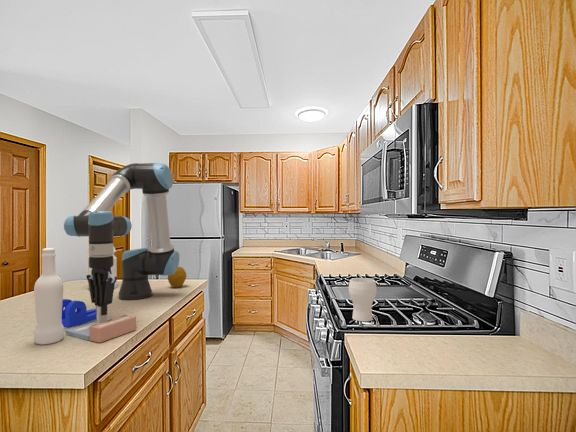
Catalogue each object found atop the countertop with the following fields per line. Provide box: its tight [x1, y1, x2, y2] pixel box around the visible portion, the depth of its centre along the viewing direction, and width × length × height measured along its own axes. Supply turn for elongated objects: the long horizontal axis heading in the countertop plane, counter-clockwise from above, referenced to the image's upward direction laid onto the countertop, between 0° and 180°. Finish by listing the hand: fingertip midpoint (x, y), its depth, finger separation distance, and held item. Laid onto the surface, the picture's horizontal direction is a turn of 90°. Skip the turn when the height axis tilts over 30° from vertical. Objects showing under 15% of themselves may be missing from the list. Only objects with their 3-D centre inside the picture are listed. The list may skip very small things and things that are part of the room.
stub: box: [89, 314, 137, 343], centre depth 122 cm, size 14×5×5 cm, turn 153°
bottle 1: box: [33, 247, 65, 346], centre depth 116 cm, size 8×8×30 cm
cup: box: [348, 277, 378, 322], centre depth 140 cm, size 11×11×15 cm
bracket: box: [62, 298, 97, 329], centre depth 139 cm, size 18×8×9 cm, turn 158°
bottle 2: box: [87, 245, 118, 290], centre depth 195 cm, size 14×14×28 cm
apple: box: [167, 266, 187, 289], centre depth 198 cm, size 10×10×12 cm
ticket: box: [65, 319, 109, 341], centre depth 126 cm, size 14×12×2 cm
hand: (101, 324), depth 124 cm, fingers closed
